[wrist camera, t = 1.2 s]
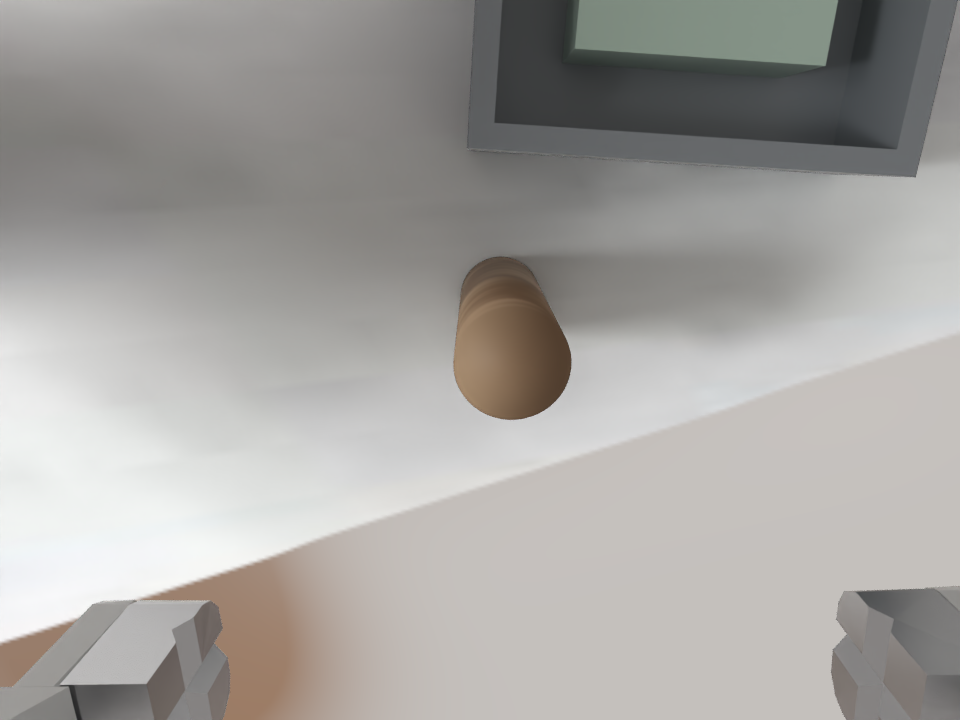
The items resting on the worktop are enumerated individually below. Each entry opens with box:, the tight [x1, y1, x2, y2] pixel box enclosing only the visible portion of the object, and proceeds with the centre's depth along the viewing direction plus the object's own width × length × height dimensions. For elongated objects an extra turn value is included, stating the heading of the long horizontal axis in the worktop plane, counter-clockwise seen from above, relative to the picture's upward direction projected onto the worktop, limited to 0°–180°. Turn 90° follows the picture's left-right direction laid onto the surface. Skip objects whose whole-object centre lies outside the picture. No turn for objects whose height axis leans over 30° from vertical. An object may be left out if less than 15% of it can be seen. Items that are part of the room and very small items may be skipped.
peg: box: [454, 257, 571, 420], centre depth 28 cm, size 4×4×12 cm
